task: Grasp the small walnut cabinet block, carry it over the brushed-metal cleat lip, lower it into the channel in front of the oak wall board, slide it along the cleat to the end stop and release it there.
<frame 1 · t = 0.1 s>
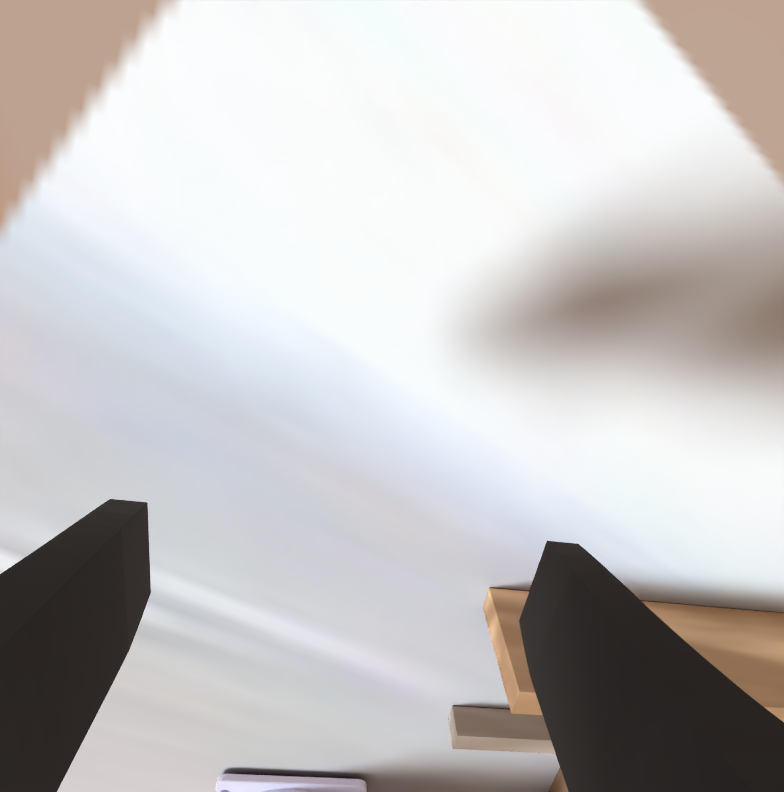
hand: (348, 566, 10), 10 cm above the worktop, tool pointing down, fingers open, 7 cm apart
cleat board: (653, 663, 26), on the worktop
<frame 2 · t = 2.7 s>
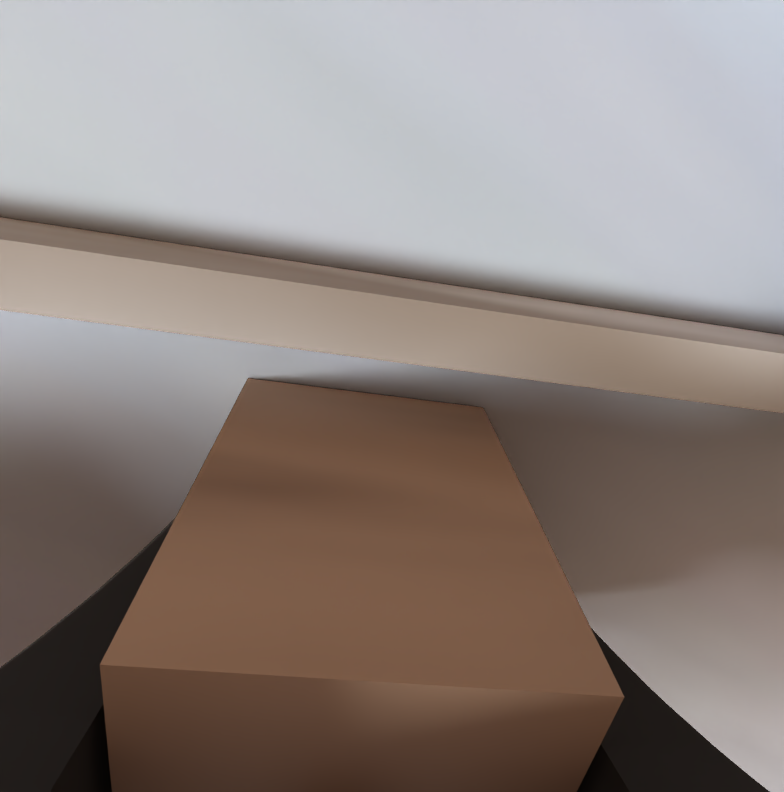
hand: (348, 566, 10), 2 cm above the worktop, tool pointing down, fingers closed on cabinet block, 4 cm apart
cabinet block: (350, 511, 11), on the worktop, touching gripper
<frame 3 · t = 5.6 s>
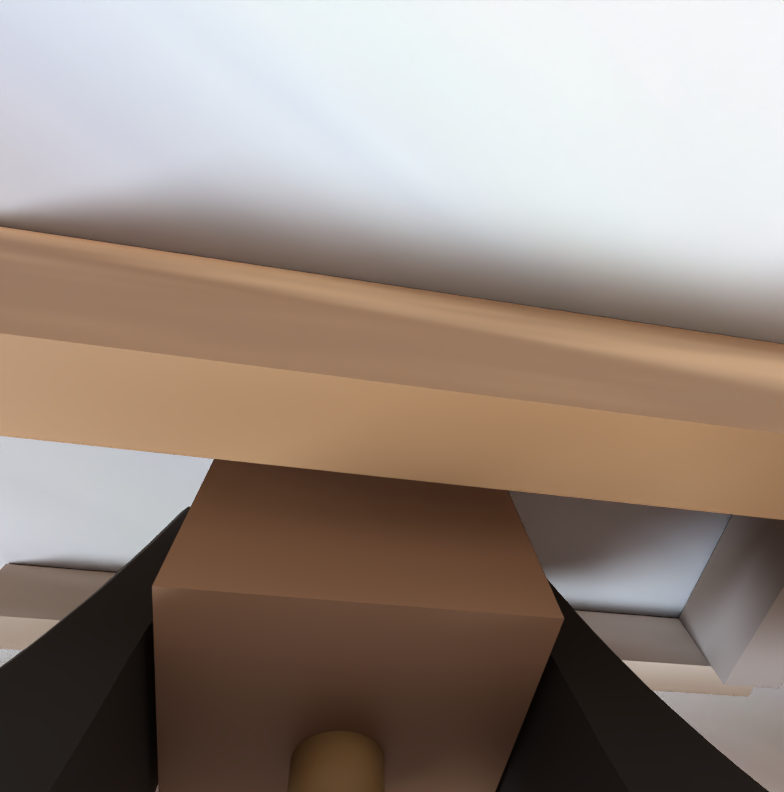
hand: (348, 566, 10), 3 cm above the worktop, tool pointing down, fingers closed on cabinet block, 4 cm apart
cabinet block: (348, 491, 12), resting in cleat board, touching gripper
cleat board: (423, 465, 12), on the worktop
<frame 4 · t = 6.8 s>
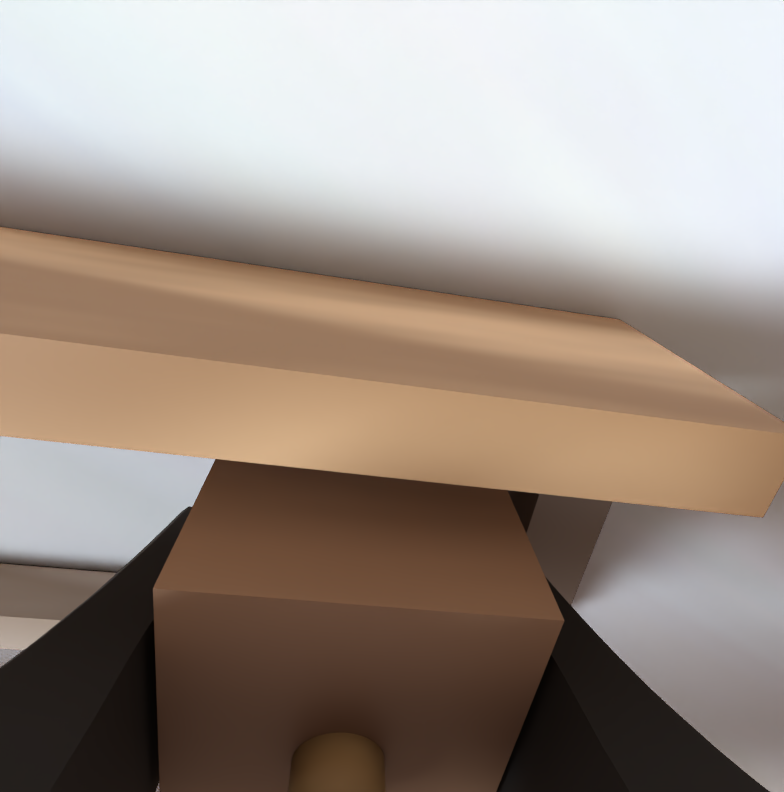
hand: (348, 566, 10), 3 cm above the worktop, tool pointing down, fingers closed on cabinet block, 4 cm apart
cabinet block: (348, 492, 12), resting in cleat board, touching gripper
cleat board: (148, 435, 11), on the worktop
when the fingers open (3 cm above the worktop, at t = 7.5 s): cabinet block stays where it is, resting in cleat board.
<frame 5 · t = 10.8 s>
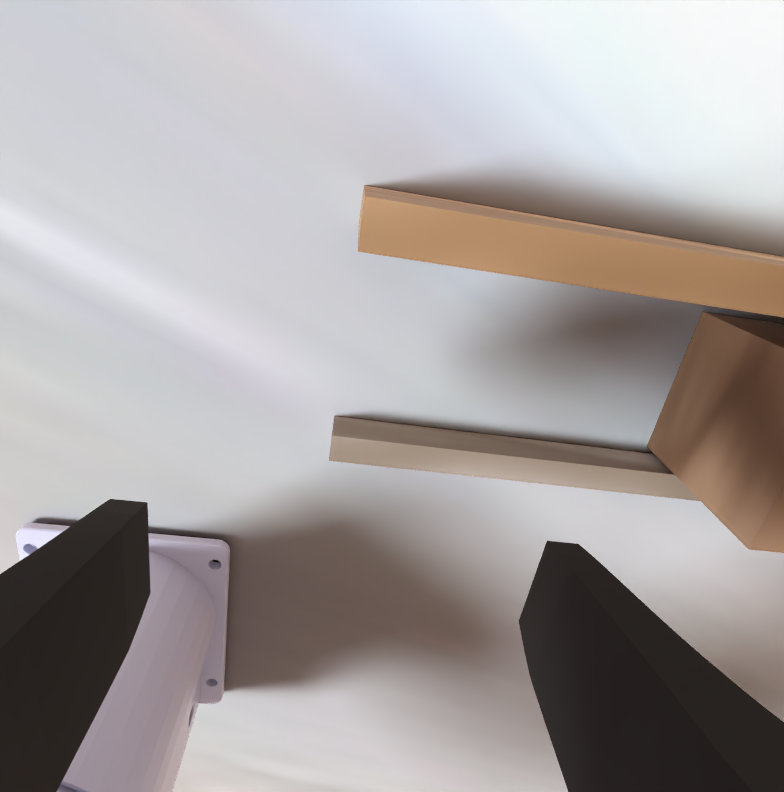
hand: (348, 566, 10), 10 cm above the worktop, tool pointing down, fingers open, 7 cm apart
cabinet block: (727, 390, 20), resting in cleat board
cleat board: (611, 348, 19), on the worktop
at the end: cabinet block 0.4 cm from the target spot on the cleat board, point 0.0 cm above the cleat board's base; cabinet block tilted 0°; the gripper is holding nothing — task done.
